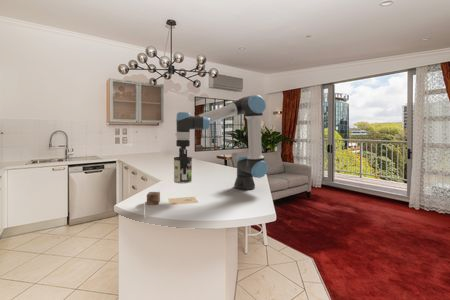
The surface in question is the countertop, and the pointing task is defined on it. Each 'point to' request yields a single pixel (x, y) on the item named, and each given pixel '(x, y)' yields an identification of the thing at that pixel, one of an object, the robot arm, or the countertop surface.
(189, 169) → the coffee can
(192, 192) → the countertop surface
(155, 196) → the walnut block
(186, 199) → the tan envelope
